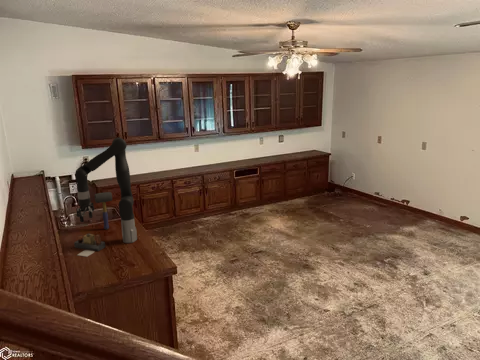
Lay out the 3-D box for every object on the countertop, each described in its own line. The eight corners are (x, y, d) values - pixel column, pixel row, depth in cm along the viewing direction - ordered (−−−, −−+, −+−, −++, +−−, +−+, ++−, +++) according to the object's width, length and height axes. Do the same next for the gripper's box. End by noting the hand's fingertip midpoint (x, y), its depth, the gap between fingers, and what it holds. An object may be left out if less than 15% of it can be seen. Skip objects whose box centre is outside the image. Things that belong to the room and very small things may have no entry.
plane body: (105, 247, 258) (103, 233, 256) (98, 251, 252) (97, 237, 249) (81, 243, 264) (80, 230, 261) (74, 247, 257) (73, 234, 255)
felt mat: (94, 251, 251) (94, 251, 251) (87, 256, 243) (86, 256, 243) (85, 250, 253) (85, 249, 253) (77, 255, 246) (76, 254, 246)
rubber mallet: (98, 232, 284) (94, 195, 277) (97, 228, 291) (93, 192, 283) (115, 229, 290) (112, 192, 282) (114, 226, 296) (110, 190, 288)
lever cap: (94, 241, 258) (94, 233, 256) (90, 243, 254) (89, 235, 252) (88, 240, 260) (87, 232, 258) (83, 242, 255) (83, 234, 254)
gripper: (81, 200, 242) (83, 223, 246) (95, 194, 255) (98, 216, 259) (71, 199, 244) (74, 222, 248) (86, 193, 257) (89, 215, 261)
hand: (86, 219), depth 254 cm, fingers open, 8 cm apart
